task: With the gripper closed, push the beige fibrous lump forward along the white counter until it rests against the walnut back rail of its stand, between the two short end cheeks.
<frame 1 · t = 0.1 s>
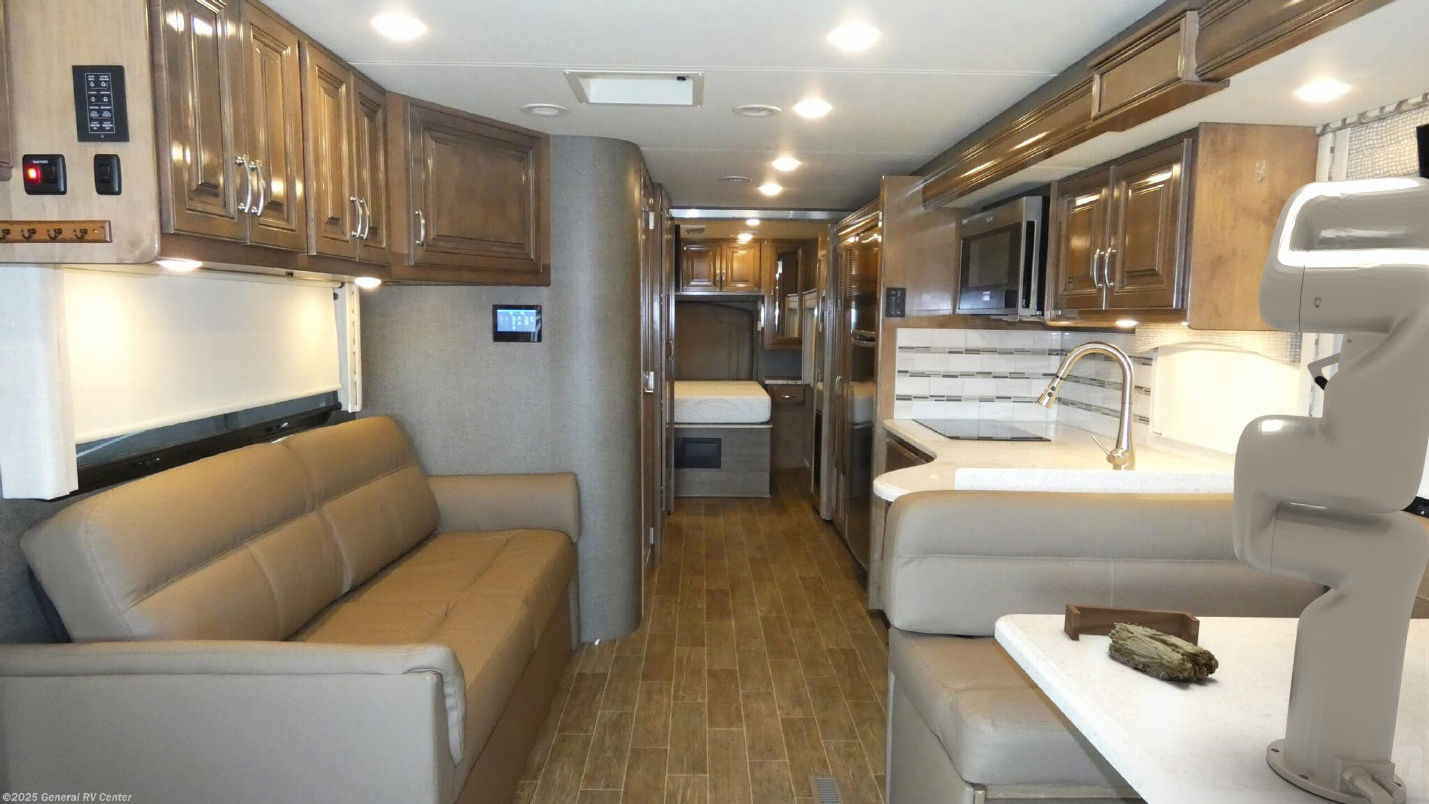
hand: (1377, 427, 113), 37 cm above the table, tool pointing down, fingers open, 9 cm apart
stand: (1129, 639, 130), on the table
beige fibrous lump: (1157, 670, 120), on the table
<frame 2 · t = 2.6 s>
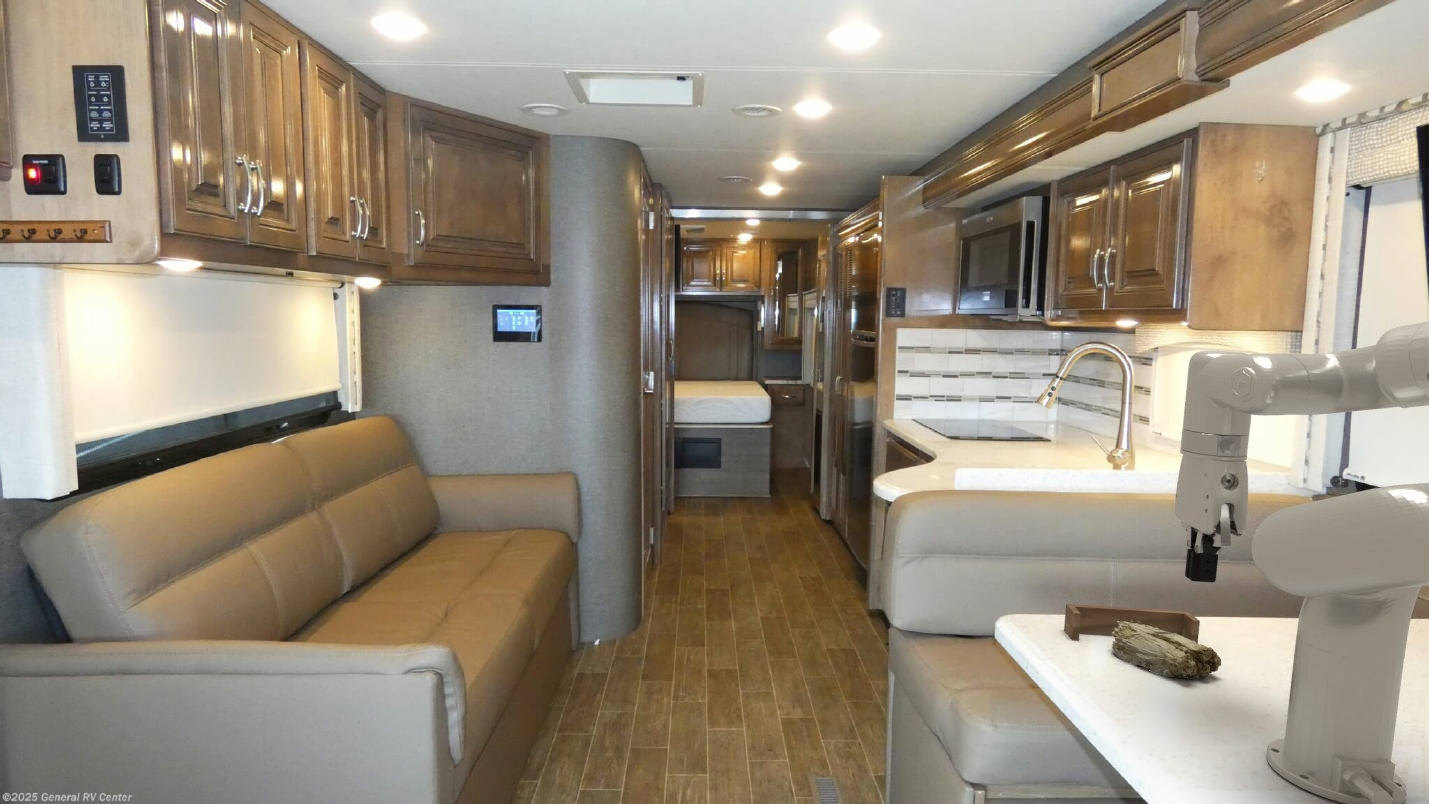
hand: (1199, 579, 109), 17 cm above the table, tool pointing down, fingers closed
beige fibrous lump: (1160, 668, 121), on the table
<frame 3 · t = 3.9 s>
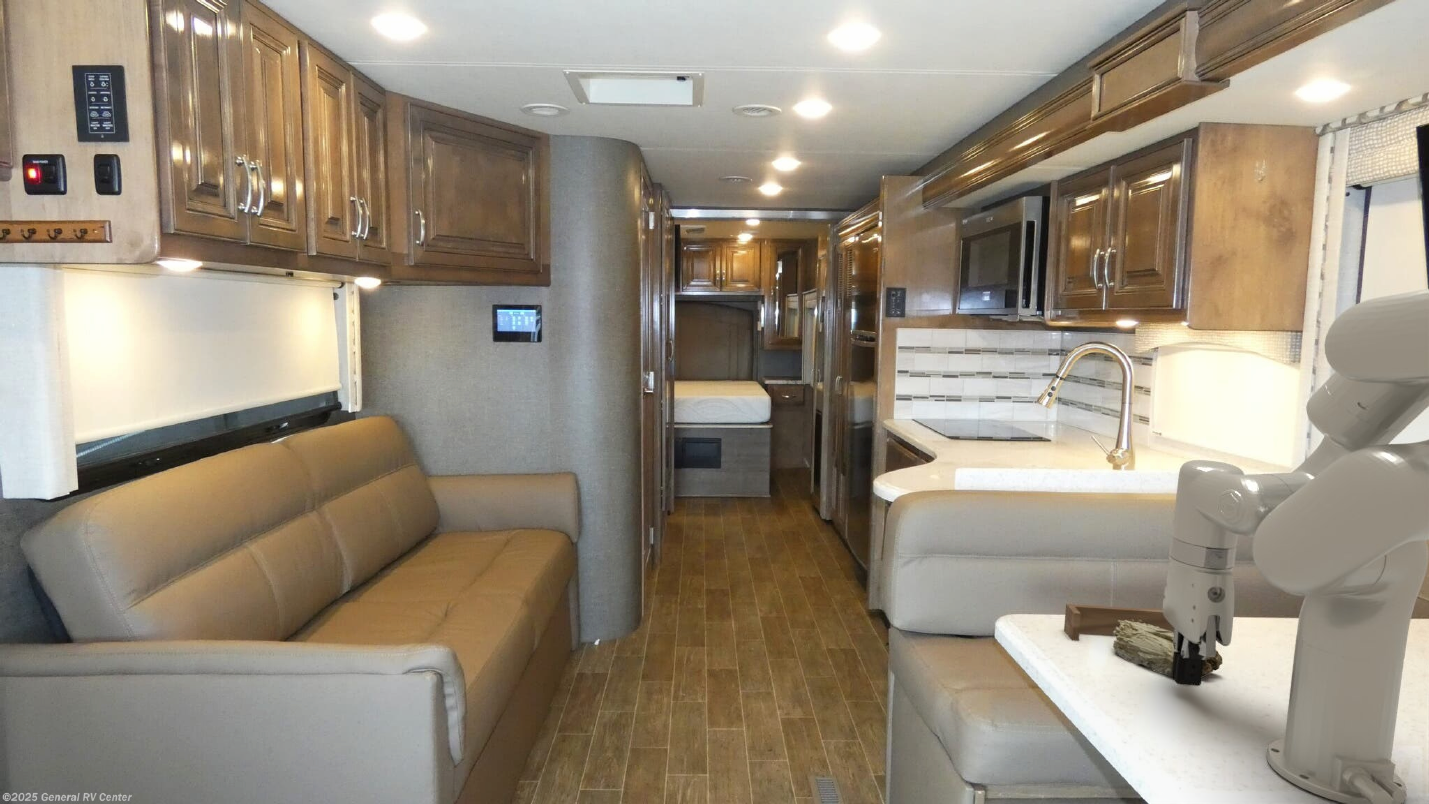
hand: (1185, 681, 111), 2 cm above the table, tool pointing down, fingers closed
nothing on the table moved.
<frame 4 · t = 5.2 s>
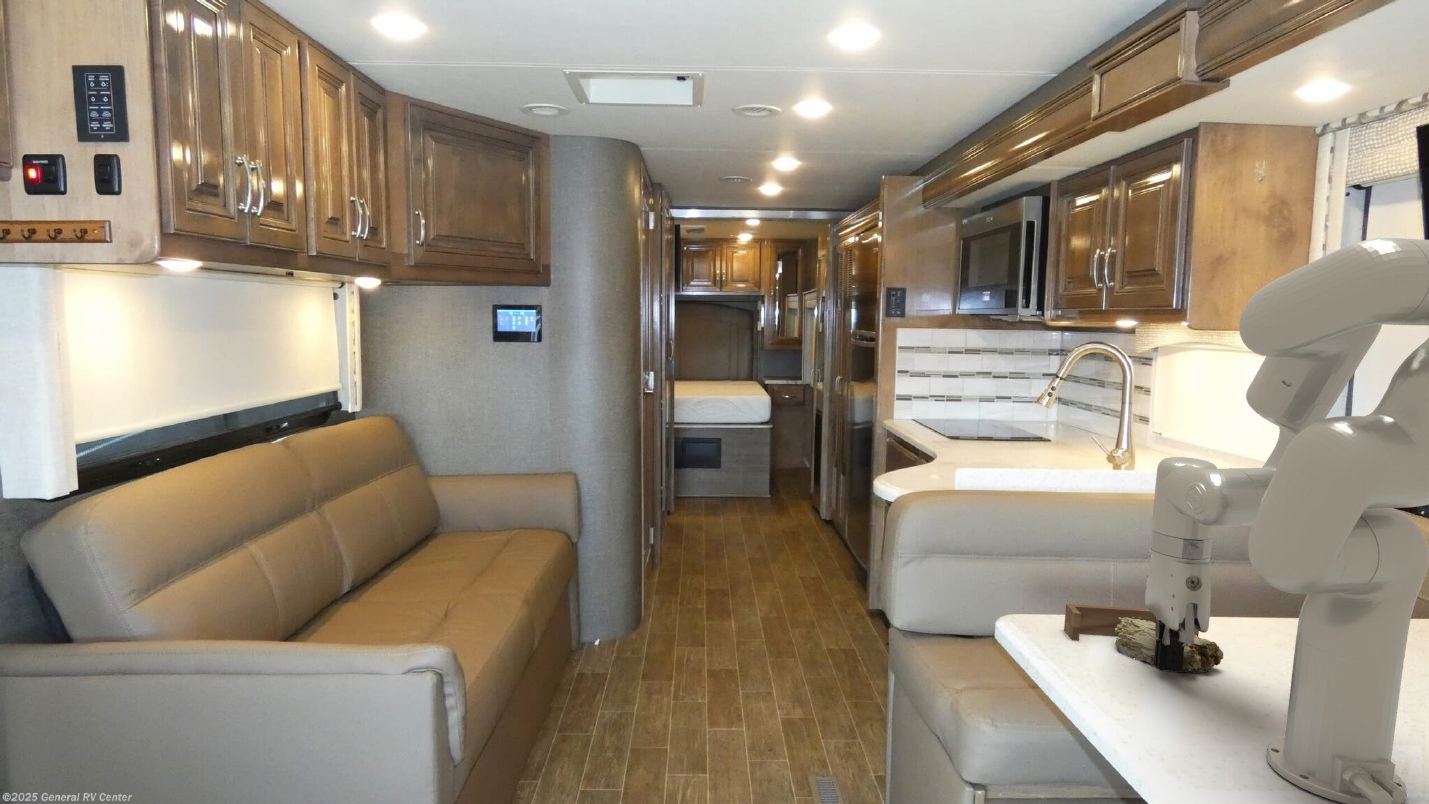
hand: (1167, 668, 117), 1 cm above the table, tool pointing down, fingers closed
beige fibrous lump: (1163, 662, 123), on the table
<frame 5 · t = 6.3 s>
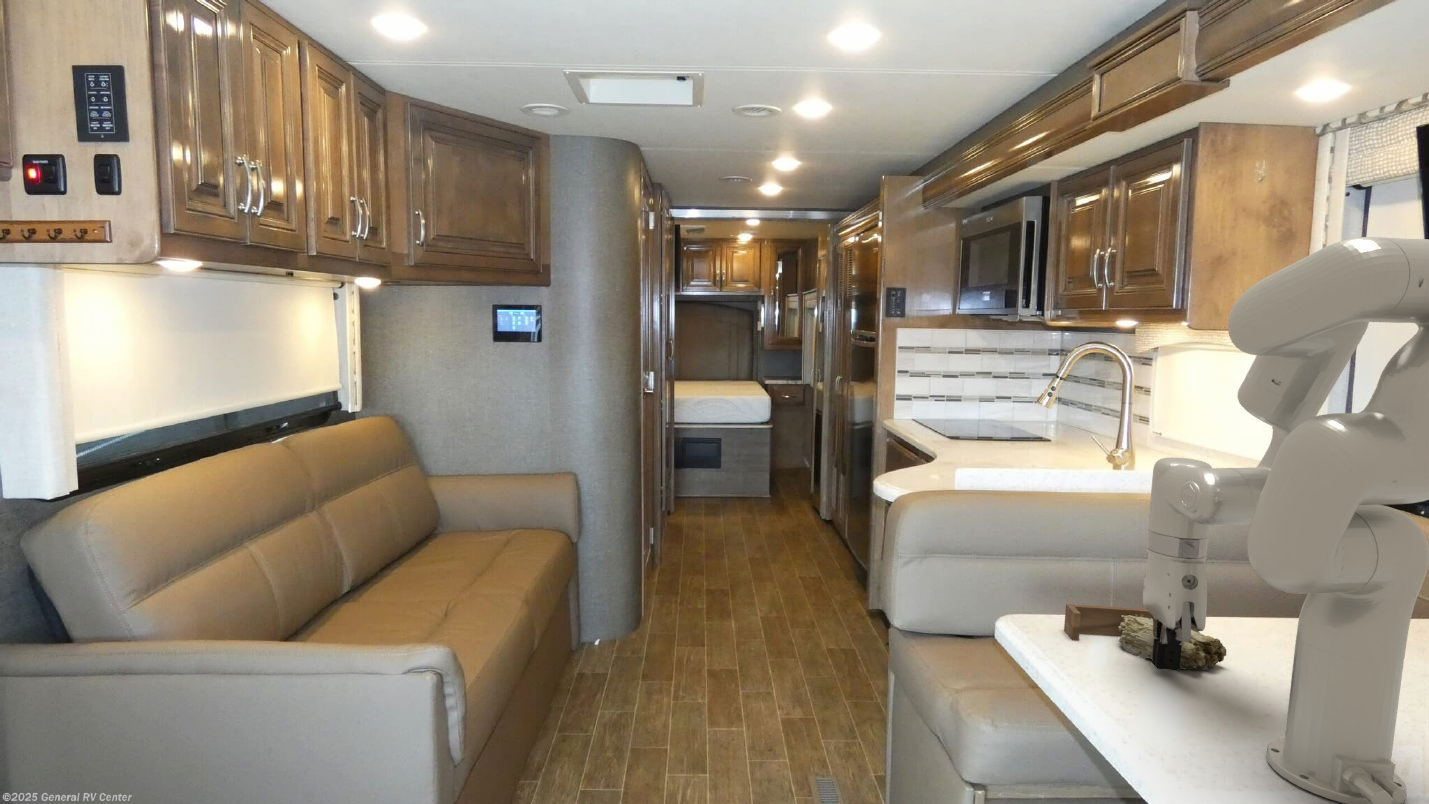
hand: (1165, 667, 118), 1 cm above the table, tool pointing down, fingers closed
beige fibrous lump: (1167, 660, 124), on the table
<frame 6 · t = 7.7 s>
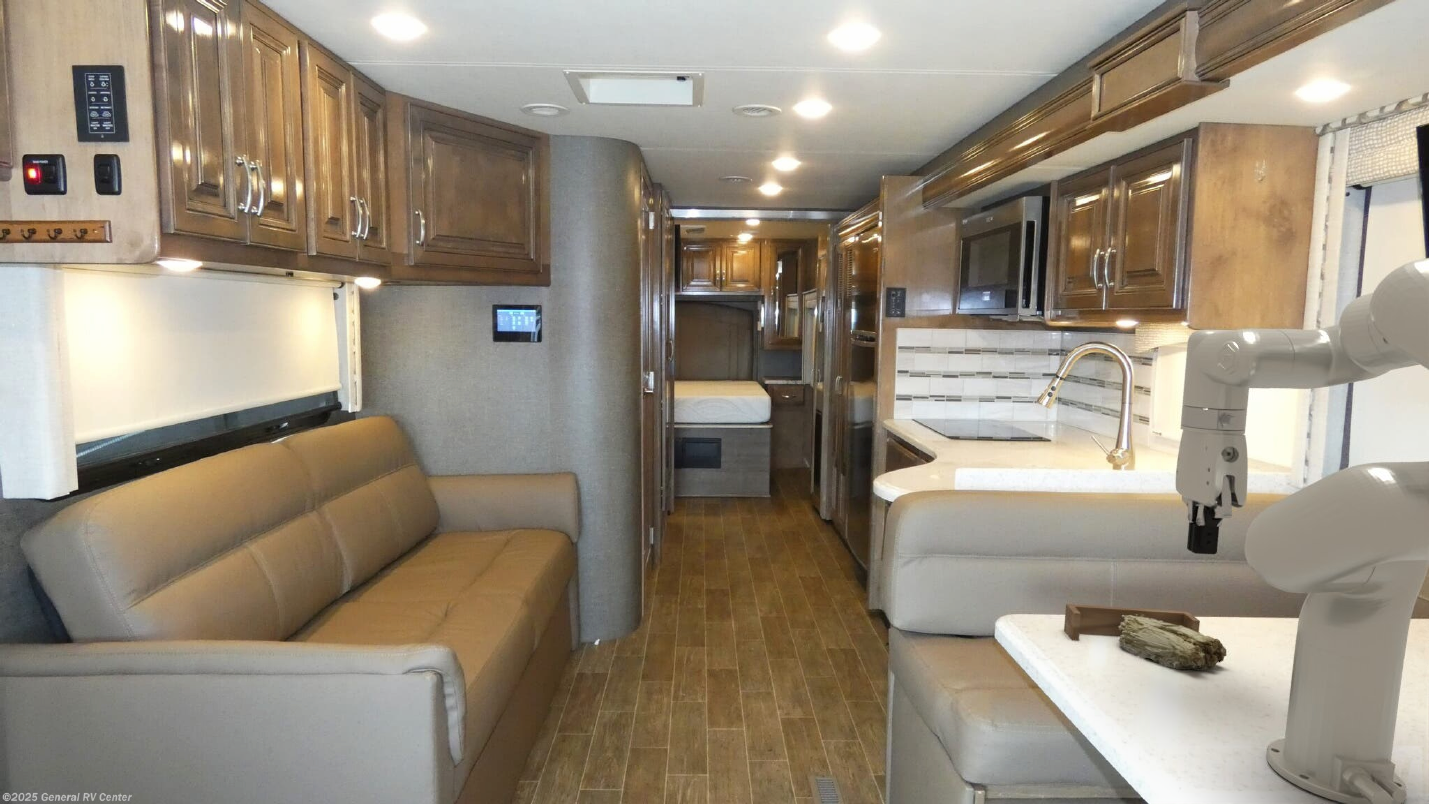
hand: (1201, 552, 112), 19 cm above the table, tool pointing down, fingers closed
nothing on the table moved.
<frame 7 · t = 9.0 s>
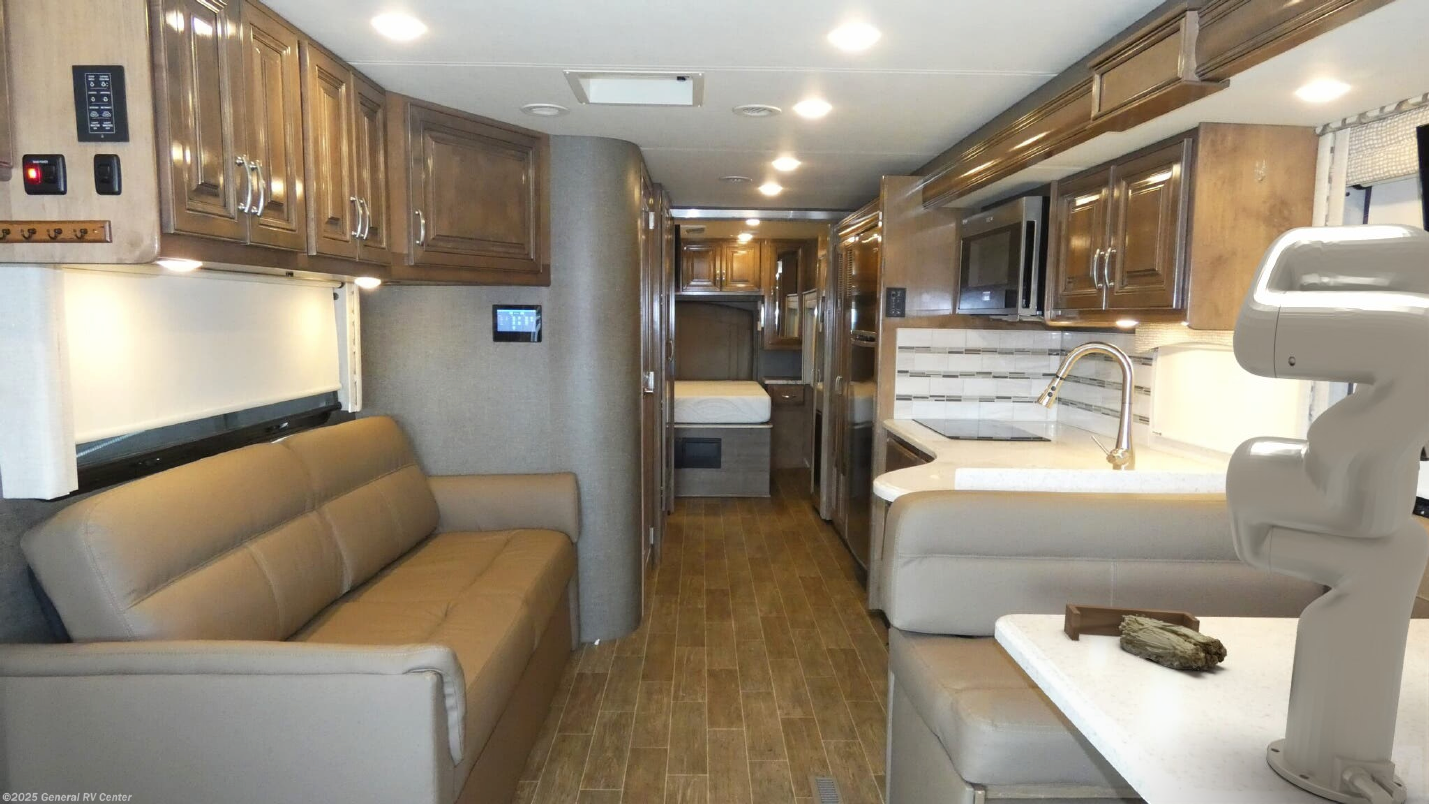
hand: (1378, 508, 107), 27 cm above the table, tool pointing down, fingers closed
nothing on the table moved.
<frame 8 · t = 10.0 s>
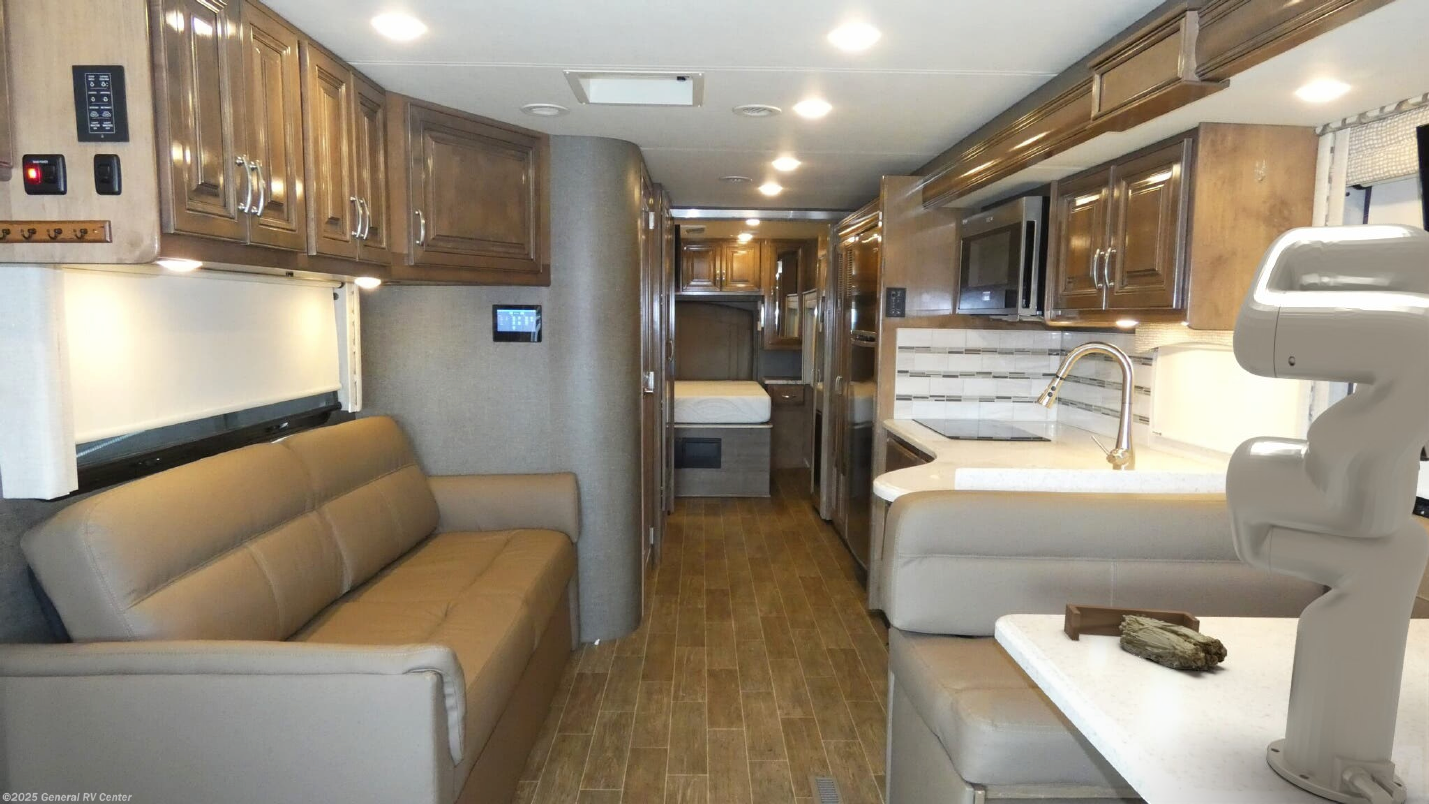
hand: (1378, 508, 107), 27 cm above the table, tool pointing down, fingers closed
nothing on the table moved.
at the end: beige fibrous lump inside the target area (3.7 cm from its centre), on the table; beige fibrous lump moved 5.3 cm from its start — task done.
